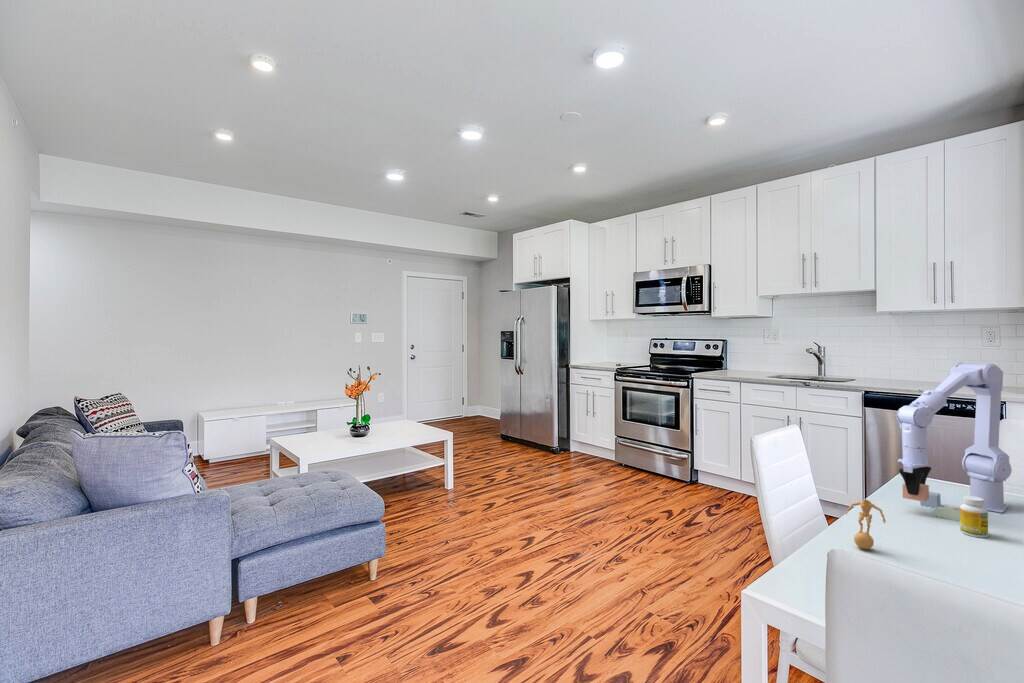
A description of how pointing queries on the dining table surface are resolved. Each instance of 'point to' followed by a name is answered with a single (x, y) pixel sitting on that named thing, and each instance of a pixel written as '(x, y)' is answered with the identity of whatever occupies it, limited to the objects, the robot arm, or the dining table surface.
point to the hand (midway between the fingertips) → (915, 492)
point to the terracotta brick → (922, 494)
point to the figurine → (861, 537)
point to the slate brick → (932, 500)
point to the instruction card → (952, 507)
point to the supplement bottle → (973, 517)
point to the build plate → (946, 513)
